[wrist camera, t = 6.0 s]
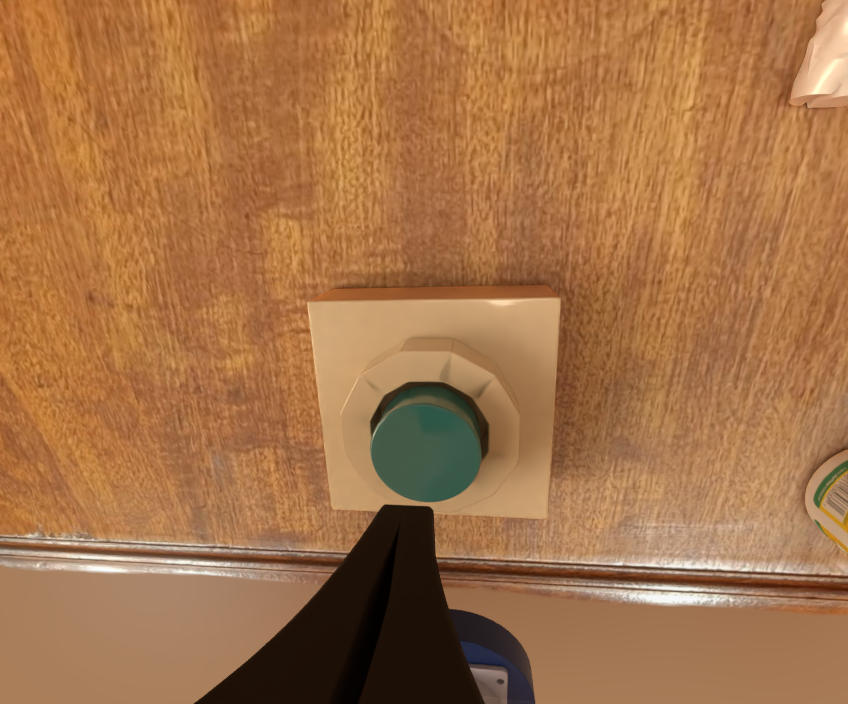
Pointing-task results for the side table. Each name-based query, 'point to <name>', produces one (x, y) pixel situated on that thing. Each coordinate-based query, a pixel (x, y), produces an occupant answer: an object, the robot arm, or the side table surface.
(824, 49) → the white creature statuette
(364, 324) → the push button box
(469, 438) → the teal button
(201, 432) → the side table surface
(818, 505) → the supplement bottle
